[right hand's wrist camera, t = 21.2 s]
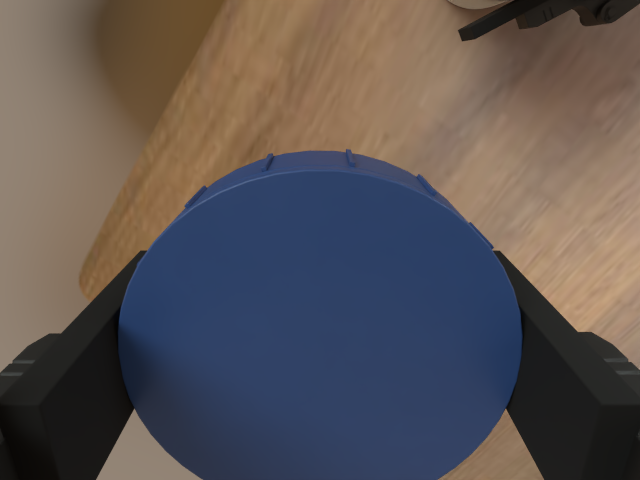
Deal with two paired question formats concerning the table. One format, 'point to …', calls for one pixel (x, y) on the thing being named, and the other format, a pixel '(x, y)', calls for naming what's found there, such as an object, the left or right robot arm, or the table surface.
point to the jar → (476, 3)
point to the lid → (320, 326)
